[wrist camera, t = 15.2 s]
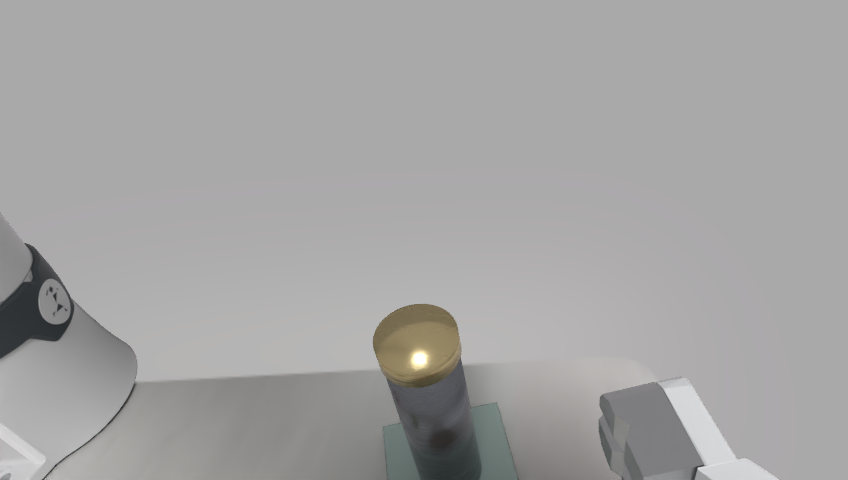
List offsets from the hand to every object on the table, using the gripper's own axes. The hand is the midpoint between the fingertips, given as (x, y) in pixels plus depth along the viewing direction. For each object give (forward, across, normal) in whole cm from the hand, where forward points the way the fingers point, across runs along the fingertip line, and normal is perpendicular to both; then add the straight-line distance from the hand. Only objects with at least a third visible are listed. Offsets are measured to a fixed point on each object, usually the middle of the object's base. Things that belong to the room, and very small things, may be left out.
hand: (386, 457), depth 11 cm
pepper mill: (+16, 0, +29) cm, 33 cm away
